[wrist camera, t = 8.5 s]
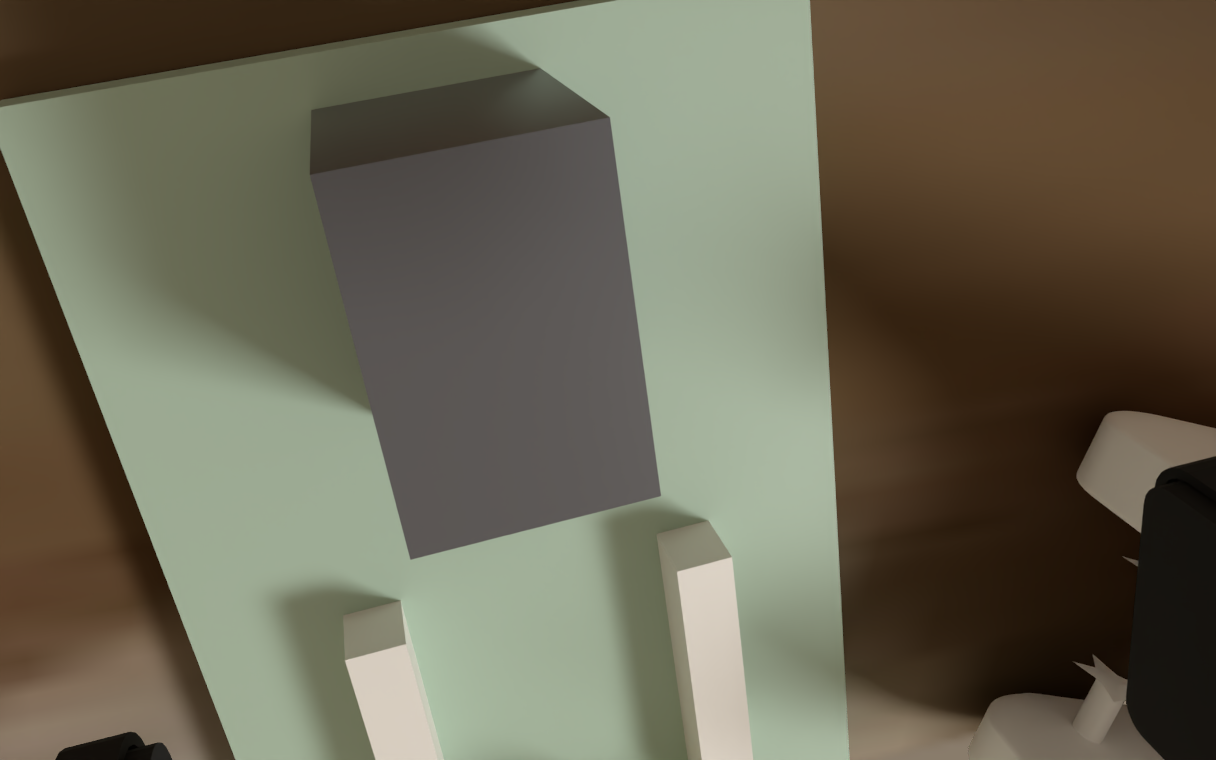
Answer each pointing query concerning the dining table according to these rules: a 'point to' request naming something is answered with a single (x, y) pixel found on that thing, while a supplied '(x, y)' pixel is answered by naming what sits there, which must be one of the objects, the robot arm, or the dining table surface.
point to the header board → (346, 433)
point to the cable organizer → (1099, 725)
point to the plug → (488, 303)
